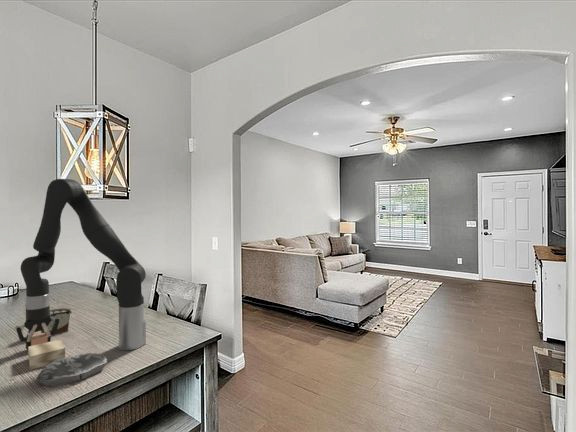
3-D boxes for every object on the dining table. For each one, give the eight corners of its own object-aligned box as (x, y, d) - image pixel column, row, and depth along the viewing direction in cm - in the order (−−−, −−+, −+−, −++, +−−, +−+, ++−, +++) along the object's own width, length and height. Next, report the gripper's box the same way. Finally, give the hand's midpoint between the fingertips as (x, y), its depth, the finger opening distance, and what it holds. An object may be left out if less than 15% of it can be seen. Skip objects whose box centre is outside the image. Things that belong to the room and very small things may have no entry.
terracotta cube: (44, 344, 128) (44, 332, 128) (47, 348, 125) (47, 336, 124) (29, 348, 124) (28, 336, 124) (31, 353, 121) (31, 340, 121)
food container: (67, 327, 146) (67, 306, 146) (71, 330, 142) (71, 309, 142) (34, 335, 137) (34, 312, 136) (38, 339, 133) (37, 316, 133)
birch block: (61, 351, 123) (61, 339, 123) (65, 361, 116) (64, 347, 116) (28, 359, 116) (28, 346, 116) (30, 370, 109) (30, 356, 109)
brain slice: (95, 355, 121) (95, 347, 120) (112, 371, 109) (112, 363, 109) (31, 375, 106) (30, 366, 106) (42, 396, 95) (42, 386, 94)
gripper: (16, 312, 116) (16, 357, 116) (62, 303, 127) (62, 344, 127) (12, 307, 121) (13, 351, 121) (57, 299, 132) (57, 339, 132)
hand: (38, 347), depth 124 cm, fingers closed on terracotta cube, 5 cm apart
